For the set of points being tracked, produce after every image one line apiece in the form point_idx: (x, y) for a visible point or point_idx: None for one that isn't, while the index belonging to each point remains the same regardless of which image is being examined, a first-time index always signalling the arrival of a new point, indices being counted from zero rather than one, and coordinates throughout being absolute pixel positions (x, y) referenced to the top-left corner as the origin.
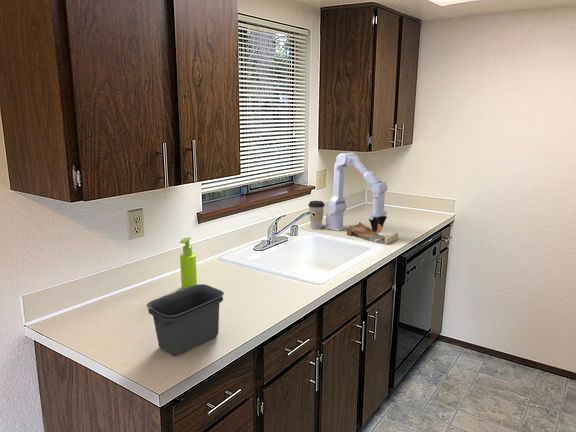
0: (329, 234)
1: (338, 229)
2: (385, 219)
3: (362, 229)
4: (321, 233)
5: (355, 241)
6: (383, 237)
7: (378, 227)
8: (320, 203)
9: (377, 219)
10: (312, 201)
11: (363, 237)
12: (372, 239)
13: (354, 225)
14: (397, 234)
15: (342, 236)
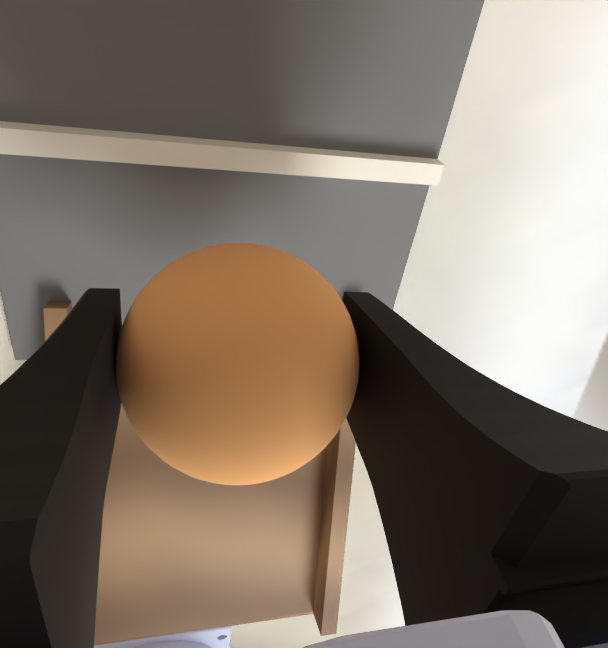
0: (365, 598)
1: (200, 640)
2: None
3: (167, 524)
4: (369, 631)
5: (493, 372)
6: (154, 139)
7: (340, 327)
8: None
9: (545, 541)
10: None
11: None
12: (351, 253)
13: (142, 636)
14: None
15: (369, 526)
